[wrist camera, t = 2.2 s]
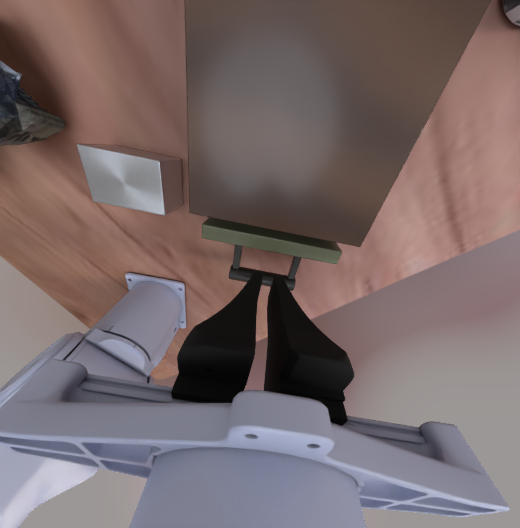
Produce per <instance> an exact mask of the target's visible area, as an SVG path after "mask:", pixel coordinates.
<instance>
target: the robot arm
mask: <svg viewBox="0 0 520 528" xmlns="http://www.w3.org/2000/svg"><path fill="white" fill-rule="evenodd" d="M125 276H126V280H127V284H128V288H129V292H128V293H127V294H126V295H125V296H124V297H123V298H122V299H121V300H120V301H119V302H118V303H117V304H116V305H115V306H114V307H113V308H112V309H111V310H109V311H108V312H107V313H106V314H105V315H104V316H103V317H102V318H101V319H100V320H99V321H98V322H97V323H96V324H95V325H94V326H93V327H92V328H91V329H90V330H89V331H88V332H87V333H85V334H84V335H83V334H82V333H80V332H75V333H71V334H66V335H64V336H63V337H61V338H60V339H58V340H57V341H56V342H54V343H53V344H52V345H51V346H49V347H48V348H47V349H46V350H44V351H43V352H42V353H41V354H39V355H38V356H37V357H36V358H35V359H33V360H32V361H31V362H30V363H29V364H27V365H26V366H25V367H24V368H23V369H22V370H21V371H20V372H18V373H17V374H16V375H15V376H14V377H13V378H12V379H10V380H9V381H8V382H7V383H6V384H5V385H4V386H3V387H2V388H1V389H0V528H19V527H20V525H21V524H22V523H23V521H24V520H25V519H26V517H27V516H28V515H29V513H30V512H31V511H32V510H33V509H34V508H36V507H37V506H39V505H40V504H42V503H44V502H45V501H47V500H49V499H51V498H53V497H55V496H57V495H58V494H61V493H62V492H64V491H66V490H68V489H70V488H72V487H74V486H76V485H78V484H80V483H82V482H84V481H85V480H87V479H89V478H91V477H92V476H93V475H94V474H95V473H96V472H97V470H98V469H99V468H100V469H105V470H109V471H114V472H119V473H124V474H129V475H133V476H138V477H142V478H147V482H146V485H145V487H144V490H143V493H142V495H141V498H140V500H139V503H138V506H137V508H136V511H135V513H134V516H133V518H132V521H131V524H130V526H129V528H366V524H365V520H364V516H363V511H362V508H372V509H385V510H397V511H408V512H419V513H428V514H437V515H444V516H452V517H467V516H474V515H482V514H490V513H496V512H504V511H509V509H510V508H509V506H508V504H507V503H506V501H505V500H504V498H503V497H502V495H501V494H500V492H499V491H498V489H497V488H496V486H495V485H494V483H493V481H492V480H491V478H490V477H489V476H488V474H487V472H486V471H485V469H484V468H483V466H482V465H481V463H480V462H479V460H478V459H477V457H476V456H475V454H474V453H473V451H472V449H471V448H470V446H469V445H468V443H467V442H466V440H465V439H464V437H463V436H462V434H461V433H460V431H459V430H458V428H457V427H456V426H455V425H452V424H446V423H440V422H426V423H424V424H422V425H421V426H420V427H419V428H418V427H413V426H406V425H400V424H394V423H388V422H382V421H376V420H370V419H363V418H357V417H351V416H347V415H346V412H345V408H344V404H343V402H344V401H345V397H344V393H343V390H344V389H345V388H346V387H347V386H348V385H349V383H350V382H351V381H352V379H353V378H354V371H353V368H352V365H351V363H350V360H349V358H348V356H347V353H346V352H345V351H344V350H343V349H341V348H340V347H339V346H338V345H336V344H335V343H334V342H333V341H331V340H330V339H329V338H328V337H327V336H326V335H325V334H323V333H322V332H321V331H320V330H319V329H318V328H317V327H316V326H315V325H314V324H313V322H311V320H310V319H309V318H308V317H307V316H306V314H305V313H304V312H303V311H302V309H301V308H300V306H299V305H298V303H297V302H296V300H295V299H294V297H293V295H292V293H291V292H290V290H289V288H288V286H287V284H286V282H285V280H284V278H283V277H282V276H277V275H274V278H273V282H272V285H271V289H270V292H269V296H268V306H267V323H268V347H267V360H266V372H265V383H264V391H262V390H246V391H244V388H245V385H246V383H247V380H248V376H249V373H250V369H251V366H252V362H253V359H254V355H255V345H256V314H257V301H258V296H259V292H260V288H261V283H262V279H263V273H261V272H256V271H254V272H252V275H251V277H250V279H249V281H248V282H247V284H246V285H245V286H244V288H243V289H242V290H241V291H240V293H239V294H238V295H237V296H236V297H235V298H234V299H233V300H232V301H231V302H230V303H229V304H228V305H226V306H225V307H224V308H223V309H222V310H220V311H219V312H218V313H216V314H215V315H213V316H212V317H210V318H209V319H207V320H205V321H203V322H202V323H200V324H198V325H196V326H195V327H194V328H193V330H192V331H191V332H190V334H189V335H188V336H187V338H186V340H185V341H184V343H183V345H182V347H181V349H180V351H179V353H178V358H177V361H178V370H179V374H178V377H177V379H176V381H175V384H174V386H173V387H168V386H161V385H155V384H154V381H153V377H152V376H151V375H150V373H151V371H152V370H153V368H155V367H156V366H157V365H158V364H159V363H160V362H161V360H162V358H163V357H164V355H165V353H166V351H167V349H168V347H169V345H170V344H171V342H172V340H173V338H174V336H175V334H176V332H177V331H178V329H179V328H185V327H186V304H185V285H184V283H182V282H178V281H173V280H167V279H162V278H156V277H151V276H145V275H140V274H135V273H127V274H126V275H125ZM181 288H182V289H181Z"/></svg>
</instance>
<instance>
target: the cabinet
mask: <svg viewBox="0 0 520 528" xmlns="http://www.w3.org/2000/svg"><path fill="white" fill-rule="evenodd" d="M490 2H491V0H185V36H186V79H187V122H188V165H189V208H190V213H192V214H197V215H202V216H207V217H212V218H217V219H222V220H227V221H232V222H237V223H242V224H247V225H252V226H257V227H262V228H267V229H272V230H277V231H282V232H287V233H292V234H297V235H302V236H307V237H312V238H317V239H322V240H327V241H332V242H337V243H342V244H348V245H353V246H358V247H360V246H361V244H362V242H363V241H364V239H365V237H366V235H367V233H368V231H369V229H370V227H371V226H372V224H373V222H374V220H375V218H376V216H377V214H378V212H379V211H380V209H381V207H382V205H383V203H384V201H385V199H386V197H387V195H388V194H389V192H390V190H391V188H392V186H393V184H394V182H395V180H396V179H397V177H398V175H399V173H400V171H401V169H402V167H403V165H404V164H405V162H406V160H407V158H408V156H409V154H410V152H411V150H412V148H413V147H414V145H415V143H416V141H417V139H418V137H419V135H420V133H421V132H422V130H423V128H424V126H425V124H426V122H427V120H428V118H429V116H430V115H431V113H432V111H433V109H434V107H435V105H436V103H437V101H438V100H439V98H440V96H441V94H442V92H443V90H444V88H445V86H446V85H447V83H448V81H449V79H450V77H451V75H452V73H453V71H454V69H455V68H456V66H457V64H458V62H459V60H460V58H461V56H462V54H463V53H464V51H465V49H466V47H467V45H468V43H469V41H470V39H471V38H472V36H473V34H474V32H475V30H476V28H477V26H478V24H479V22H480V21H481V19H482V17H483V15H484V13H485V11H486V9H487V7H488V6H489V4H490Z"/></svg>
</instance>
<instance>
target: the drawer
mask: <svg viewBox="0 0 520 528" xmlns="http://www.w3.org/2000/svg"><path fill="white" fill-rule="evenodd" d="M202 238H204V239H209V240H215V241H220V242H225V243H230V244H235V252H234V260H233V265H232V266H231V268H230V272H229V279H232V280H238V281H243V282H248V281H249V279H250V277H251V275H252V272H254V271H256V272H261V273H263V279H262V283H261V285H264V286H270V287H271V285H272V282H273V278H274V275H277V276H282V277H283V278H284V280H285V282H286V284H287V286H288V288H289V290H291V291H293V289H294V287H295V281H296V280H295V275H296V272H297V269H298V266H299V263H300V261H301V258H307V259H312V260H317V261H322V262H327V263H333V264H337V262H338V260H339V258H340V256H341V254H342V251H341V249H340V248H339V246H338V245H337V243H336V242H332V241H327V240H322V239H317V238H312V237H307V236H302V235H297V234H292V233H287V232H282V231H277V230H272V229H267V228H262V227H257V226H252V225H247V224H242V223H237V222H232V221H227V220H222V219H217V218H212V217H209V218H208V219H207V220H206V221H205V222H204V223H203V224H202ZM242 246H245V247H250V248H256V249H261V250H266V251H271V252H276V253H281V254H286V255H292V256H294V258H293V261H292V264H291V267H290V270H289V273H288V276H286V275H281V274H276V273H271V272H265V271H260V270H255V269H250V268H244V267H239V266H240V259H241V252H242Z"/></svg>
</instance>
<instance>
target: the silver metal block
mask: <svg viewBox="0 0 520 528" xmlns="http://www.w3.org/2000/svg"><path fill="white" fill-rule="evenodd" d="M77 148H78V151H79V155H80V158H81V161H82V165H83V168H84V172H85V175H86V178H87V182H88V185H89V188H90V192H91V195H92V198H93V201H94V202H99V203H104V204H109V205H114V206H119V207H124V208H129V209H135V210H140V211H145V212H150V213H155V214H160V215H166V214H168V213H170V212H171V211H173V210H175V209H176V208H178V207H180V206H181V205H183V186H182V162H181V159H180V158H175V157H170V156H165V155H161V154H156V153H151V152H146V151H142V150H137V149H132V148H127V147H123V146H118V145H104V144H77Z"/></svg>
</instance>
